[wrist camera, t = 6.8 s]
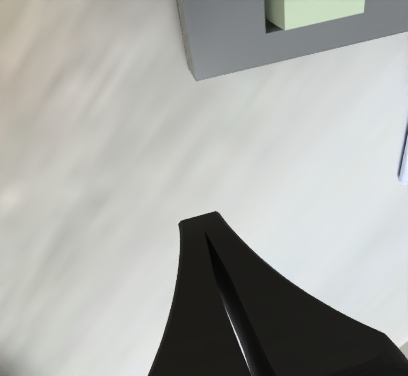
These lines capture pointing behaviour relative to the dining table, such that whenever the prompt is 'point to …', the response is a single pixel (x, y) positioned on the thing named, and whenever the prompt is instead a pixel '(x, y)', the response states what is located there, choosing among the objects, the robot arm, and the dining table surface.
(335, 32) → the keypad
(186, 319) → the robot arm
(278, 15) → the key sage
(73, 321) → the dining table surface
